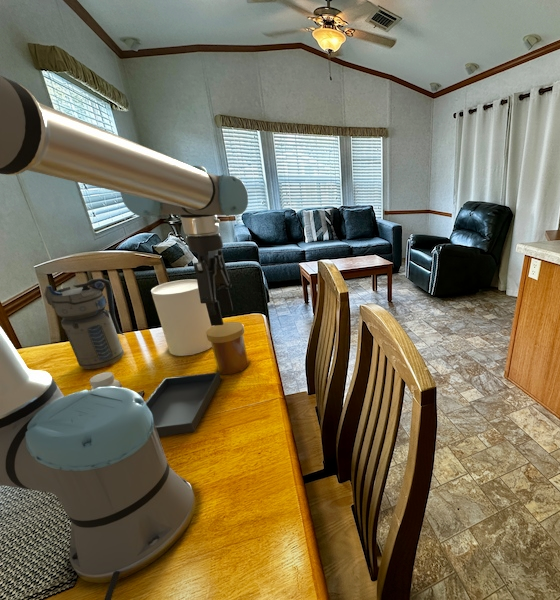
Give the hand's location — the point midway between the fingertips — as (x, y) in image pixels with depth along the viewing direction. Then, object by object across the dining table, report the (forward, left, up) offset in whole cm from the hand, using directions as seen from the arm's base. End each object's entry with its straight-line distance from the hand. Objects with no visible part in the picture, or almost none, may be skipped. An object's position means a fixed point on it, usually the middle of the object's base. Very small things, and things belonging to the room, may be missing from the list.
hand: (222, 317), depth 88 cm
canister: (+16, +16, -16) cm, 27 cm away
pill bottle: (-15, +22, -16) cm, 31 cm away
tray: (-16, +8, -15) cm, 24 cm away
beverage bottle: (+11, +38, -16) cm, 43 cm away
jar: (0, 0, -15) cm, 15 cm away
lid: (0, 0, -4) cm, 4 cm away
